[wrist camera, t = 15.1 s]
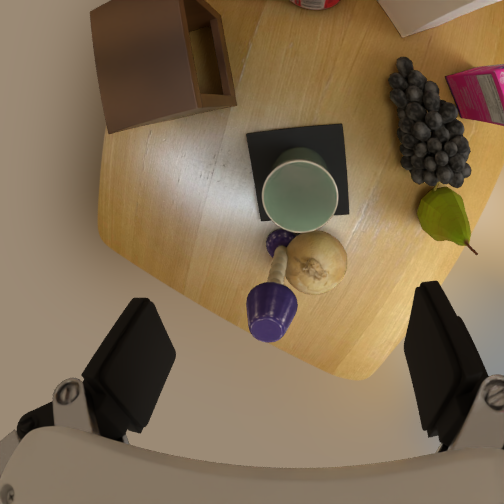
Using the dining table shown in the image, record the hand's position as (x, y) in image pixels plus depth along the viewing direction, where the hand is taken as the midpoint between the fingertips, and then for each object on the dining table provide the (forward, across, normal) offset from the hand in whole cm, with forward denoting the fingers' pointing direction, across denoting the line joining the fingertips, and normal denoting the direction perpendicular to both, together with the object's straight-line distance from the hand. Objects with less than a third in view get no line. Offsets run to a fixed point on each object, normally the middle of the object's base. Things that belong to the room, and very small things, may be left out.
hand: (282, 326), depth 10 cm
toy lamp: (+27, +3, +10) cm, 29 cm away
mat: (+27, 0, +2) cm, 27 cm away
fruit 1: (+27, -15, -4) cm, 32 cm away
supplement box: (+27, -23, -8) cm, 37 cm away
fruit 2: (+27, -17, +7) cm, 33 cm away
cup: (+26, 0, +2) cm, 27 cm away
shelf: (+27, +10, -13) cm, 32 cm away
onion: (+27, -1, +12) cm, 30 cm away
